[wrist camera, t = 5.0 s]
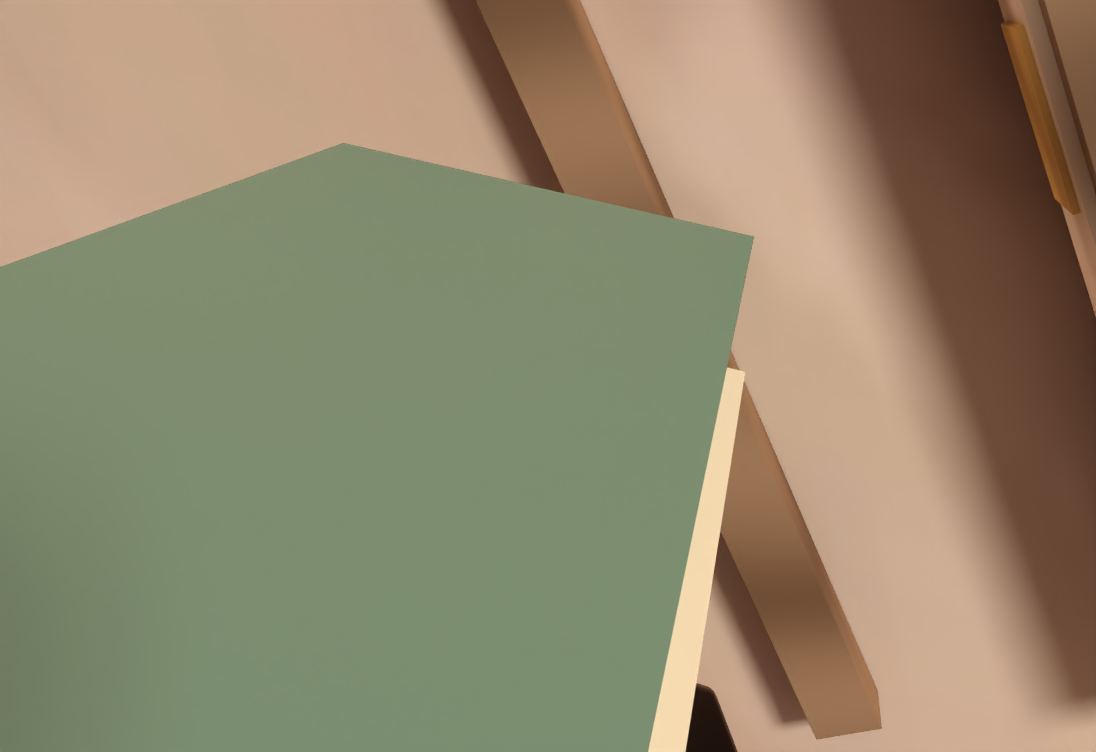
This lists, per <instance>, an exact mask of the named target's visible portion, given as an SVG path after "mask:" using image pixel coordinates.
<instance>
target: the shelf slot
mask: <svg viewBox="0 0 1096 752" xmlns="http://www.w3.org/2000/svg"><path fill="white" fill-rule="evenodd" d="M998 2H999V5H1000V8H1001V12H1002V15H1003V18H1004V21H1005V22H1004V23H1002V24H1001V28H1002V31H1003V34H1004V37H1005V41H1006V44H1007V47H1008V50H1009V54H1010V57H1011V60H1012V63H1013V66H1014V70H1015V73H1016V76H1017V79H1018V83H1019V86H1020V89H1021V92H1022V95H1023V99H1024V102H1025V105H1026V108H1027V112H1028V115H1029V118H1030V121H1031V124H1032V128H1033V131H1034V134H1035V137H1036V141H1037V144H1038V147H1039V150H1040V153H1041V157H1042V160H1043V163H1044V166H1045V170H1046V173H1047V176H1048V179H1049V182H1050V186H1051V189H1052V192H1053V195H1054V198H1055V199H1056V200H1057V201H1058V202H1059V203H1060V204H1061V206H1062V209H1063V213H1064V216H1065V219H1066V222H1067V226H1068V229H1069V232H1070V235H1071V238H1072V242H1073V245H1074V248H1075V251H1076V255H1077V258H1078V261H1079V264H1080V268H1081V271H1082V274H1083V277H1084V281H1085V284H1086V287H1087V290H1088V294H1089V297H1090V300H1091V303H1092V307H1093V310H1094V313H1095V316H1096V0H998ZM476 3H477V5H478V7H479V9H480V11H481V13H482V16H483V18H484V20H485V22H486V24H487V26H488V29H489V31H490V33H491V35H492V37H493V39H494V42H495V44H496V46H497V48H498V50H499V52H500V55H501V57H502V59H503V61H504V63H505V65H506V68H507V70H508V72H509V74H510V76H511V78H512V81H513V83H514V85H515V87H516V89H517V91H518V94H519V96H520V98H521V100H522V102H523V104H524V107H525V109H526V111H527V113H528V115H529V117H530V120H531V122H532V124H533V126H534V128H535V130H536V133H537V135H538V137H539V139H540V141H541V143H542V146H543V148H544V150H545V152H546V154H547V156H548V159H549V161H550V163H551V165H552V167H553V169H554V172H555V174H556V176H557V178H558V180H559V182H560V185H561V187H562V189H563V191H564V193H565V194H569V195H573V196H578V197H582V198H587V199H591V200H595V201H600V202H604V203H608V204H613V205H617V206H622V207H626V208H630V209H635V210H639V211H644V212H648V213H652V214H657V215H661V216H666V217H670V218H674V217H673V215H672V213H671V210H670V208H669V206H668V203H667V201H666V199H665V197H664V194H663V192H662V190H661V187H660V185H659V183H658V180H657V178H656V176H655V173H654V171H653V169H652V166H651V164H650V162H649V159H648V157H647V155H646V152H645V150H644V148H643V145H642V143H641V141H640V139H639V136H638V134H637V132H636V129H635V127H634V125H633V122H632V120H631V118H630V115H629V113H628V111H627V108H626V106H625V104H624V101H623V99H622V97H621V94H620V92H619V90H618V87H617V85H616V83H615V80H614V78H613V76H612V74H611V71H610V69H609V67H608V64H607V62H606V60H605V57H604V55H603V53H602V50H601V48H600V46H599V43H598V41H597V39H596V36H595V34H594V32H593V29H592V27H591V25H590V22H589V20H588V18H587V16H586V13H585V11H584V9H583V6H582V4H581V2H580V0H476ZM727 368H731V369H735V370H739V368H738V366H737V364H736V361H735V359H734V357H733V354H732V352H731V351H730V356H729V360H728V365H727ZM720 531H721V533H722V536H723V538H724V540H725V542H726V544H727V546H728V549H729V551H730V553H731V555H732V557H733V559H734V562H735V564H736V566H737V568H738V570H739V572H740V575H741V577H742V579H743V581H744V583H745V585H746V588H747V590H748V592H749V594H750V596H751V598H752V601H753V603H754V605H755V607H756V609H757V611H758V614H759V616H760V618H761V620H762V622H763V624H764V627H765V629H766V631H767V633H768V635H769V637H770V640H771V642H772V644H773V646H774V648H775V650H776V653H777V655H778V657H779V659H780V661H781V663H782V666H783V668H784V670H785V672H786V674H787V676H788V679H789V681H790V683H791V685H792V687H793V689H794V692H795V694H796V696H797V698H798V700H799V702H800V705H801V707H802V709H803V711H804V713H805V715H806V718H807V720H808V722H809V724H810V726H811V728H812V731H813V733H814V735H815V737H816V739H822V738H828V737H834V736H840V735H846V734H852V733H858V732H864V731H870V730H876V729H882V727H881V717H880V708H879V698H878V691H877V688H876V686H875V684H874V682H873V679H872V677H871V675H870V672H869V670H868V668H867V665H866V663H865V661H864V658H863V656H862V654H861V651H860V649H859V647H858V644H857V642H856V640H855V637H854V635H853V633H852V630H851V628H850V626H849V624H848V621H847V619H846V617H845V614H844V612H843V610H842V607H841V605H840V603H839V600H838V598H837V596H836V593H835V591H834V589H833V586H832V584H831V582H830V579H829V577H828V575H827V572H826V570H825V568H824V565H823V563H822V561H821V559H820V556H819V554H818V552H817V549H816V547H815V545H814V542H813V540H812V538H811V535H810V533H809V531H808V528H807V526H806V524H805V521H804V519H803V517H802V514H801V512H800V510H799V507H798V505H797V503H796V501H795V498H794V496H793V494H792V491H791V489H790V487H789V484H788V482H787V480H786V477H785V475H784V473H783V470H782V468H781V466H780V463H779V461H778V459H777V456H776V454H775V452H774V449H773V447H772V445H771V443H770V440H769V438H768V436H767V433H766V431H765V429H764V426H763V424H762V422H761V419H760V417H759V415H758V412H757V410H756V408H755V405H754V403H753V401H752V398H751V396H750V394H749V391H748V389H747V387H746V384H745V382H744V383H743V389H742V396H741V402H740V408H739V415H738V421H737V428H736V434H735V440H734V447H733V453H732V459H731V466H730V472H729V478H728V485H727V491H726V497H725V504H724V510H723V517H722V523H721V529H720Z"/></svg>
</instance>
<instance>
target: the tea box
mask: <svg viewBox="0 0 1096 752" xmlns="http://www.w3.org/2000/svg"><path fill="white" fill-rule="evenodd" d="M753 239H754V237H753V236H749V235H745V234H740V233H736V232H731V231H727V230H723V229H718V228H714V227H709V226H705V225H701V224H696V223H692V222H687V221H683V220H679V219H674V218H670V217H666V216H661V215H657V214H652V213H648V212H644V211H639V210H635V209H630V208H626V207H622V206H617V205H613V204H608V203H604V202H600V201H595V200H591V199H587V198H582V197H578V196H573V195H569V194H565V193H560V192H556V191H551V190H547V189H543V188H538V187H534V186H529V185H525V184H521V183H516V182H512V181H508V180H503V179H499V178H494V177H490V176H486V175H481V174H477V173H472V172H468V171H464V170H459V169H455V168H450V167H446V166H442V165H437V164H433V163H429V162H424V161H420V160H415V159H411V158H407V157H402V156H398V155H393V154H389V153H385V152H380V151H376V150H371V149H367V148H363V147H358V146H354V145H350V144H345V143H342V144H339V145H337V146H334V147H331V148H328V149H326V150H323V151H320V152H317V153H314V154H312V155H309V156H306V157H303V158H301V159H298V160H295V161H292V162H290V163H287V164H284V165H281V166H279V167H276V168H273V169H270V170H268V171H265V172H262V173H259V174H256V175H254V176H251V177H248V178H245V179H243V180H240V181H237V182H234V183H232V184H229V185H226V186H223V187H221V188H218V189H215V190H212V191H210V192H207V193H204V194H201V195H198V196H196V197H193V198H190V199H187V200H185V201H182V202H179V203H176V204H174V205H171V206H168V207H165V208H163V209H160V210H157V211H154V212H152V213H149V214H146V215H143V216H140V217H138V218H135V219H132V220H129V221H127V222H124V223H121V224H118V225H116V226H113V227H110V228H107V229H105V230H102V231H99V232H96V233H94V234H91V235H88V236H85V237H82V238H80V239H77V240H74V241H71V242H69V243H66V244H63V245H60V246H58V247H55V248H52V249H49V250H47V251H44V252H41V253H38V254H35V255H33V256H30V257H27V258H24V259H22V260H19V261H16V262H13V263H11V264H8V265H5V266H2V267H0V752H686V745H687V739H688V733H689V726H690V720H691V713H692V707H693V701H694V694H695V688H696V682H697V675H698V669H699V663H700V656H701V650H702V644H703V637H704V631H705V625H706V618H707V612H708V605H709V599H710V593H711V586H712V580H713V574H714V567H715V561H716V555H717V548H718V542H719V536H720V529H721V523H722V517H723V510H724V504H725V497H726V491H727V485H728V478H729V472H730V466H731V459H732V453H733V447H734V440H735V434H736V428H737V421H738V415H739V408H740V402H741V396H742V389H743V383H744V377H745V372H743V371H739V370H735V369H731V368H727V365H728V360H729V356H730V351H731V346H732V341H733V336H734V331H735V326H736V322H737V317H738V312H739V307H740V302H741V297H742V292H743V287H744V283H745V278H746V273H747V268H748V263H749V258H750V253H751V249H752V244H753Z"/></svg>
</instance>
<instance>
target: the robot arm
mask: <svg viewBox="0 0 1096 752" xmlns="http://www.w3.org/2000/svg"><path fill="white" fill-rule="evenodd" d="M686 752H737V749H736V746H735V744H734V741H733V739H732V736H731V733H730V731H729V728H728V725H727V723H726V720H725V717H724V715H723V712H722V710H721V707H720V704H719V702H718V699H717V697H716V695H715V693H714V691H713V690H712V689H711V688H709V687H707V686H704V685H701V684H698V683H696V688H695V694H694V701H693V707H692V713H691V720H690V726H689V733H688V739H687V745H686Z"/></svg>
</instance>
